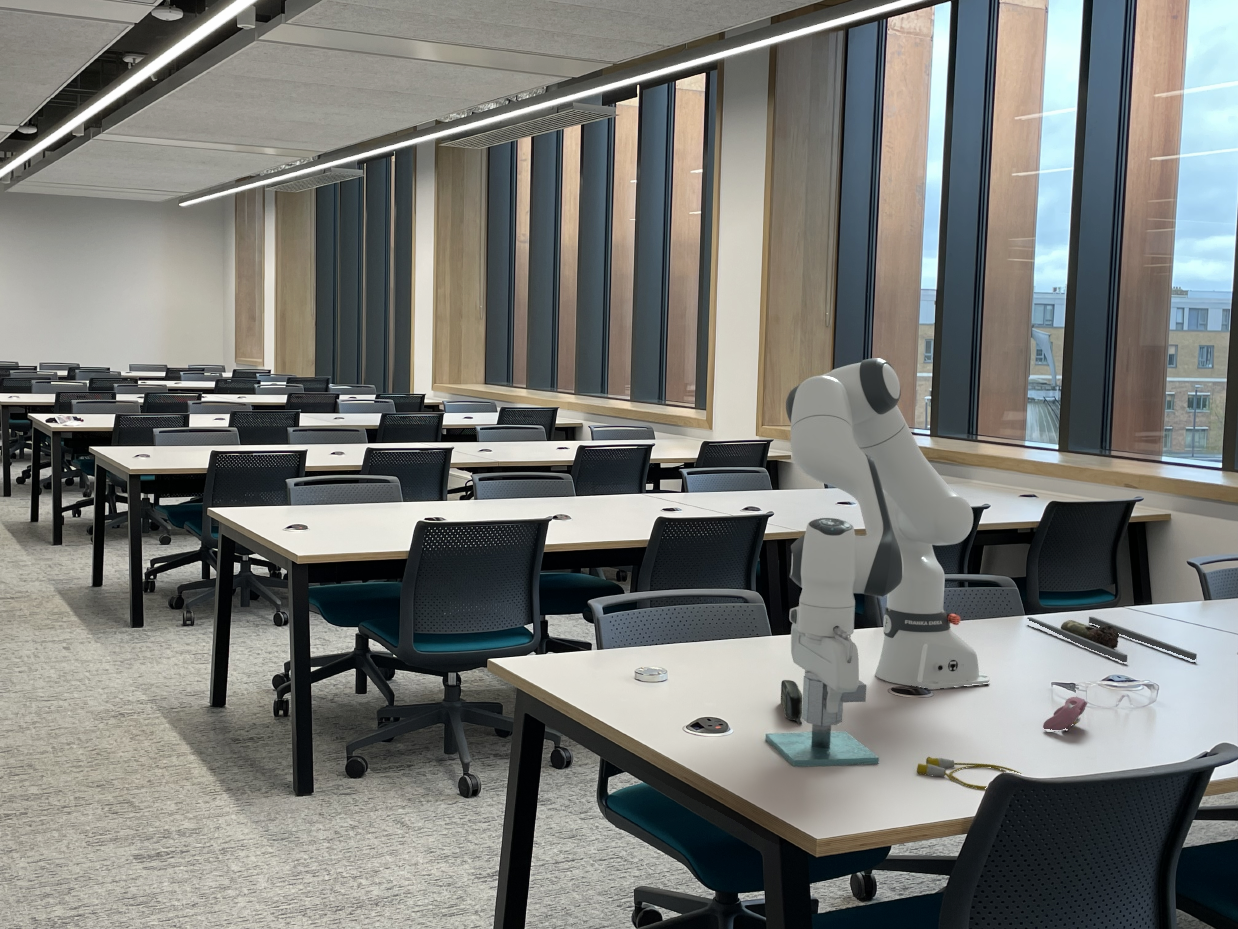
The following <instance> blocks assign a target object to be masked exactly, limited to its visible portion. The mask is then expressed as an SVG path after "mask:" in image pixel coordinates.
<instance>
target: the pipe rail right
mask: <svg viewBox="0 0 1238 929" xmlns="http://www.w3.org/2000/svg"><path fill="white" fill-rule="evenodd" d="M1089 623H1092V624H1095V625H1098V626H1100V627H1102V626H1106V625H1109V626H1112V627H1113V628H1114V629H1116V630H1117V631H1118V633H1119V634H1121V635H1125V636H1127V637H1129V638H1132V639H1135V640H1138V641H1141V642H1144V643H1147V644H1150V645H1152V646H1156V647H1159V648H1162V649H1165V650H1167V651H1171V652H1173V653H1176V654H1178V655H1182V656H1184V657H1187V658H1190V659H1192V660H1195V659H1196V660H1197V658H1198V657H1197V655H1198V654H1197V653H1195V652H1192V651H1190V650H1186V649H1183V648H1181V647H1179V646H1175V645H1173V644H1170V643H1167V642H1164V641H1162V640H1160V639H1156V638H1153V637H1151V636H1148V635H1145V634H1142V633H1139V632H1137V631H1133V630H1130V629H1128V628H1125V627H1123V626H1120V625H1117V624H1116V623H1115V624H1114V623H1112V622H1109V621H1106V620H1103V619H1101V618H1097V617H1095V616H1088V624H1089Z"/></svg>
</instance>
